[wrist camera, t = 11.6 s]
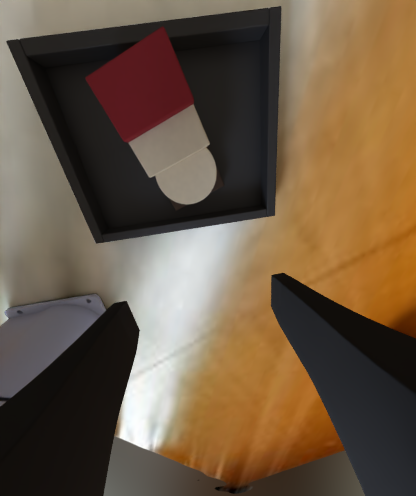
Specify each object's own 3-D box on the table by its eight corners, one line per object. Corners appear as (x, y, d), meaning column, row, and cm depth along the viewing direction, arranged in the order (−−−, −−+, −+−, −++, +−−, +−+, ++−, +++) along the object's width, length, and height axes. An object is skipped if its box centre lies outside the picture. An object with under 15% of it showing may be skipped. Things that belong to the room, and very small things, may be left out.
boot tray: (105, 235, 17) (95, 244, 15) (33, 58, 11) (4, 39, 10) (266, 210, 17) (275, 215, 15) (267, 28, 12) (281, 5, 10)
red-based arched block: (116, 103, 12) (77, 73, 8) (172, 68, 12) (163, 15, 8) (176, 208, 16) (172, 226, 11) (222, 184, 15) (236, 193, 11)
